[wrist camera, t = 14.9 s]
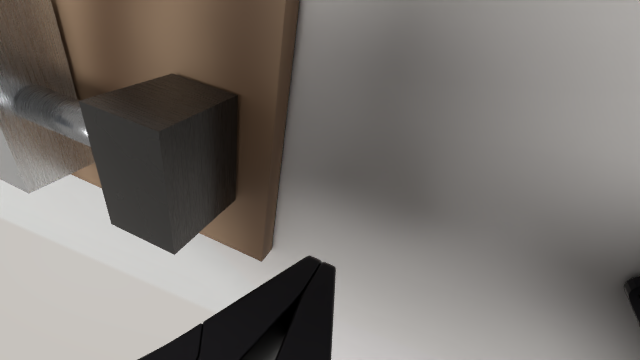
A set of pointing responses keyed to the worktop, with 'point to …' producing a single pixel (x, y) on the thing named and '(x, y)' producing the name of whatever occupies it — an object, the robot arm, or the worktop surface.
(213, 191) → the block
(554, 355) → the worktop surface
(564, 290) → the worktop surface
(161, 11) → the base
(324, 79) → the worktop surface
